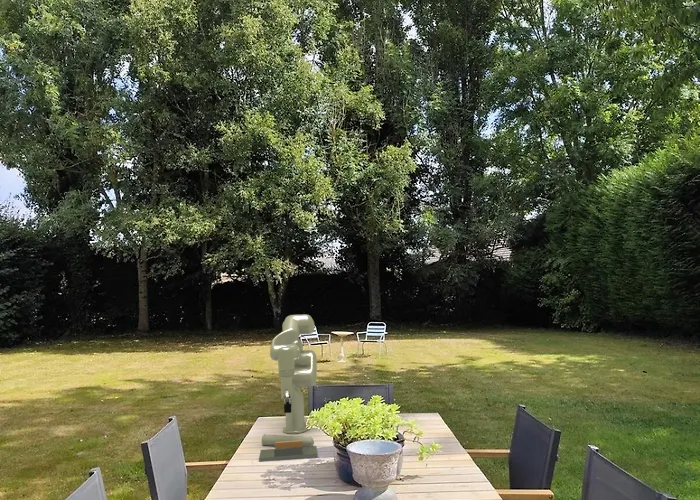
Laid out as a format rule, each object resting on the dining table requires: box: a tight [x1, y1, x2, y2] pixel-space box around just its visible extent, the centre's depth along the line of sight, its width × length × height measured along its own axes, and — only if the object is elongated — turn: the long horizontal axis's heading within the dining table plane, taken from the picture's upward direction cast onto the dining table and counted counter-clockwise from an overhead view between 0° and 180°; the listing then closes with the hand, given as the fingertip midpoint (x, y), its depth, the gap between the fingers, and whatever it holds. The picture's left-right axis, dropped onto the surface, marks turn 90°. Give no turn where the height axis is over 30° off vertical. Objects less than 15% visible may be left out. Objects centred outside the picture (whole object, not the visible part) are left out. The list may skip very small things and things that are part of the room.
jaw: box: [274, 440, 302, 449], centre depth 254 cm, size 2×12×3 cm, turn 96°
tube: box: [261, 433, 315, 447], centre depth 263 cm, size 5×5×25 cm
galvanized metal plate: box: [258, 445, 319, 462], centre depth 249 cm, size 12×25×4 cm, turn 95°
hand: (288, 410), depth 264 cm, fingers open, 9 cm apart
